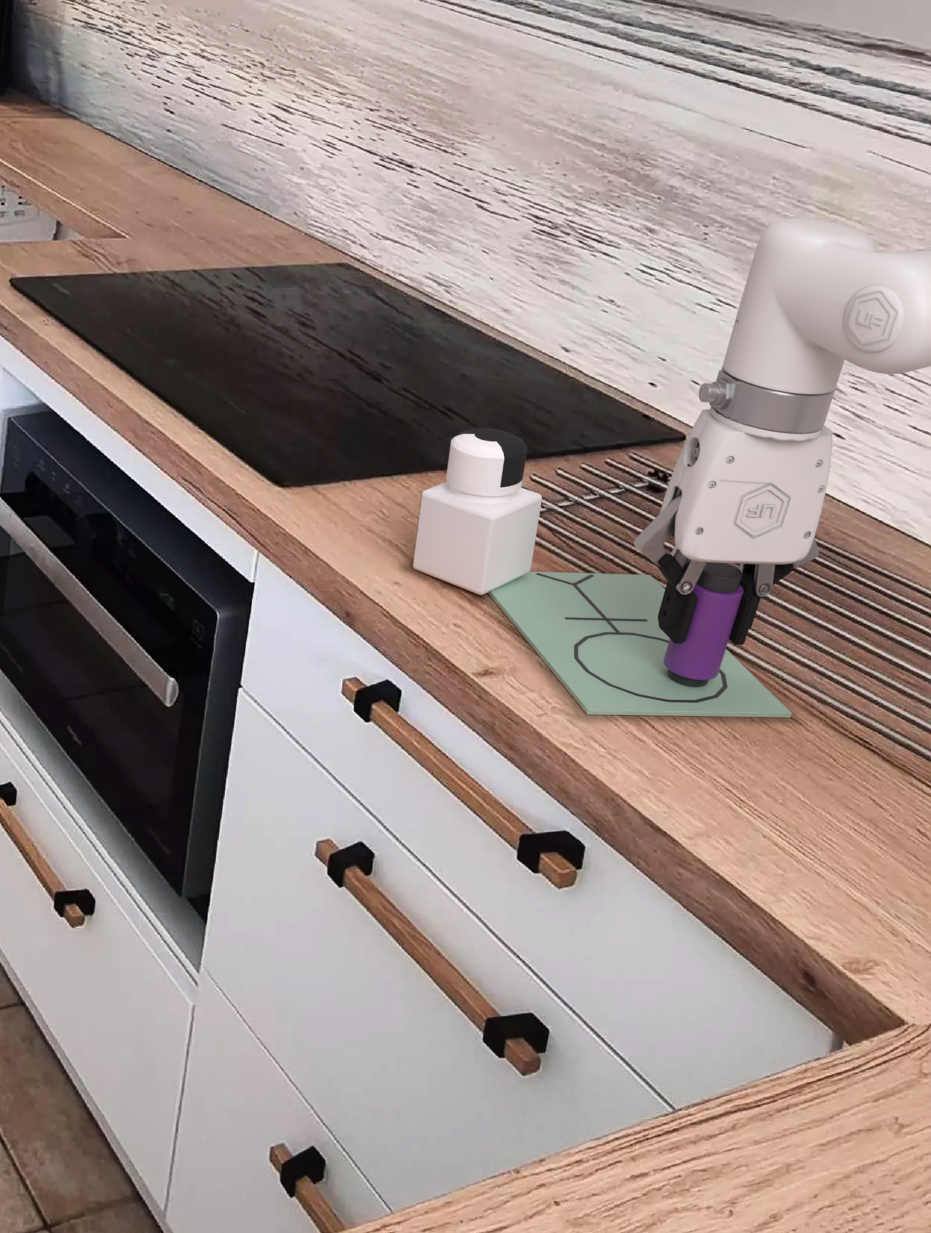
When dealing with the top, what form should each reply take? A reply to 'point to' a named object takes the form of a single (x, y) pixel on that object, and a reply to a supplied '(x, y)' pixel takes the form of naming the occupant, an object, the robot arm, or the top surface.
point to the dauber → (707, 626)
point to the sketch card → (620, 648)
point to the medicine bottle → (479, 514)
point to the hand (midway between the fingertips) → (700, 633)
